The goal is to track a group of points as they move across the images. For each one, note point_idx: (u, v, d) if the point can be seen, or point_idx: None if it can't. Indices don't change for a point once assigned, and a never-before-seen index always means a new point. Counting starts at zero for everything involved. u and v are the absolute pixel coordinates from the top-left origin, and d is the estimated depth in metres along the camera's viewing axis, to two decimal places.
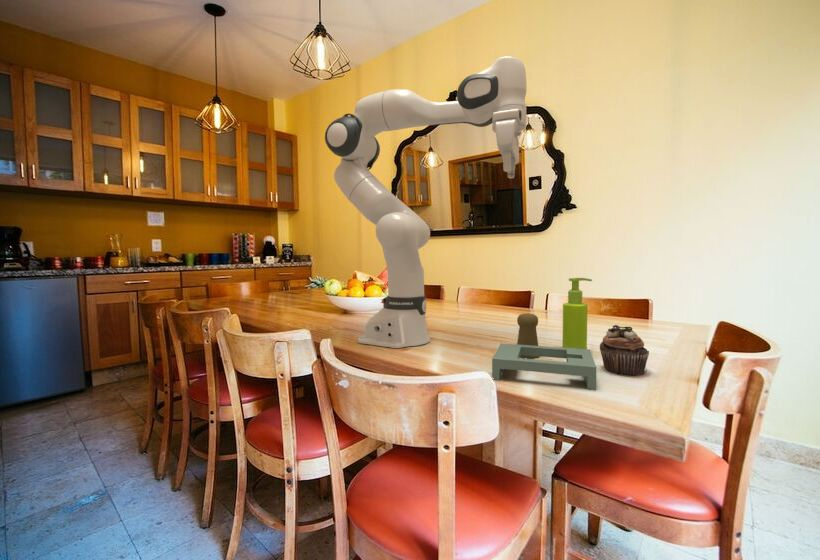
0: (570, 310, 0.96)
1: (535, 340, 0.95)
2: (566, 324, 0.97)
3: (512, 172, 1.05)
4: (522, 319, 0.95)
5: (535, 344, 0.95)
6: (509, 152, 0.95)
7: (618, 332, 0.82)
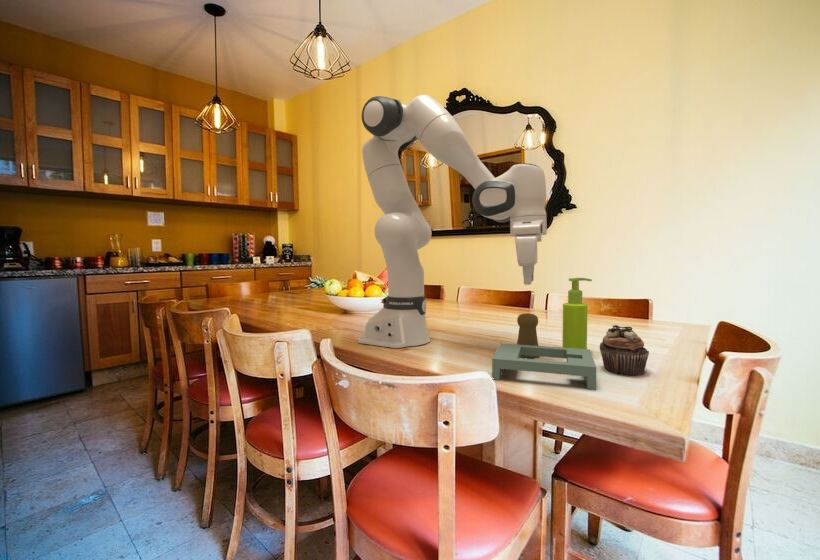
0: (570, 310, 0.96)
1: (535, 340, 0.95)
2: (566, 324, 0.97)
3: (531, 276, 0.99)
4: (522, 319, 0.95)
5: (535, 344, 0.95)
6: (530, 267, 0.89)
7: (618, 332, 0.82)
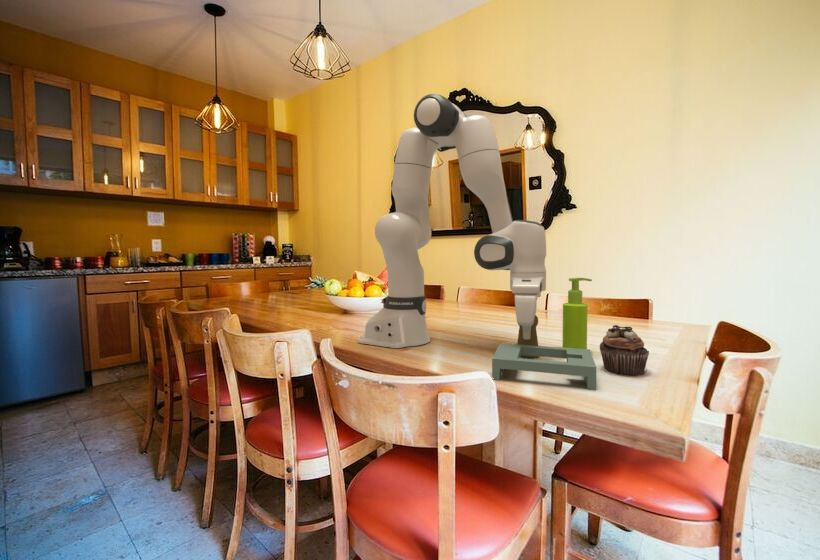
0: (570, 310, 0.96)
1: (535, 340, 0.95)
2: (566, 324, 0.97)
3: None
4: None
5: (535, 344, 0.95)
6: None
7: (618, 332, 0.82)
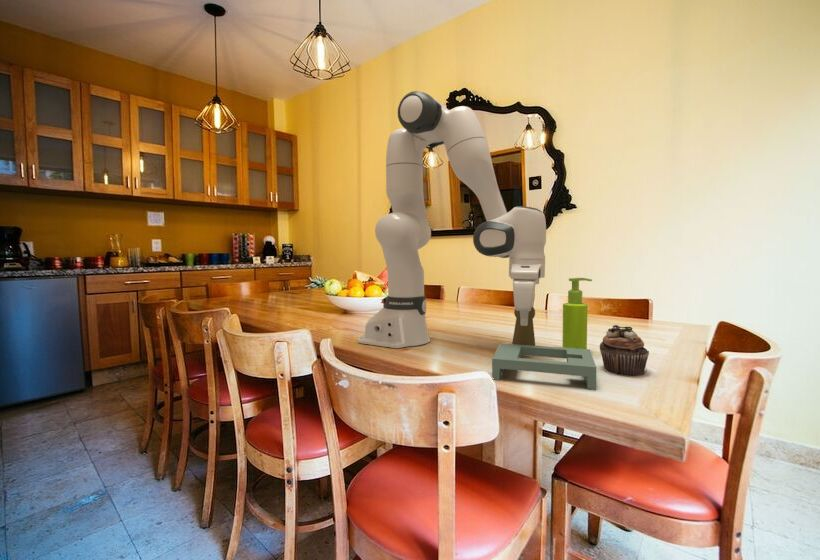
0: (570, 310, 0.96)
1: (531, 332, 0.95)
2: (566, 324, 0.97)
3: None
4: None
5: (531, 336, 0.95)
6: None
7: (618, 332, 0.82)
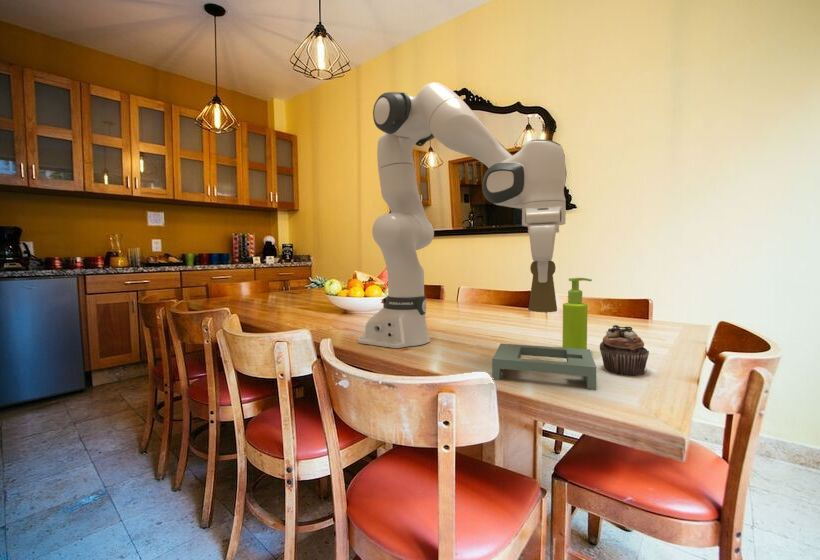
0: (570, 310, 0.96)
1: (552, 290, 0.80)
2: (566, 324, 0.97)
3: None
4: (536, 264, 0.80)
5: (552, 295, 0.80)
6: (546, 262, 0.77)
7: (618, 332, 0.82)
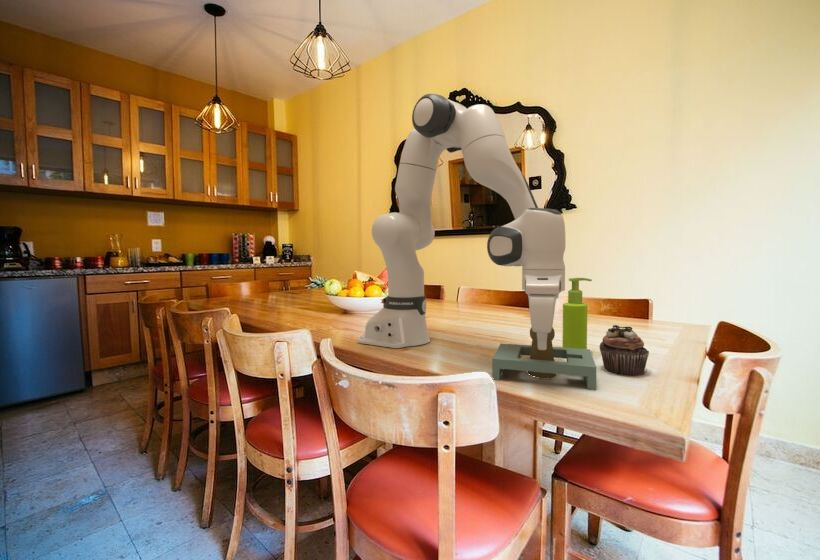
0: (570, 310, 0.96)
1: (551, 356, 0.81)
2: (566, 324, 0.97)
3: None
4: None
5: None
6: None
7: (618, 332, 0.82)
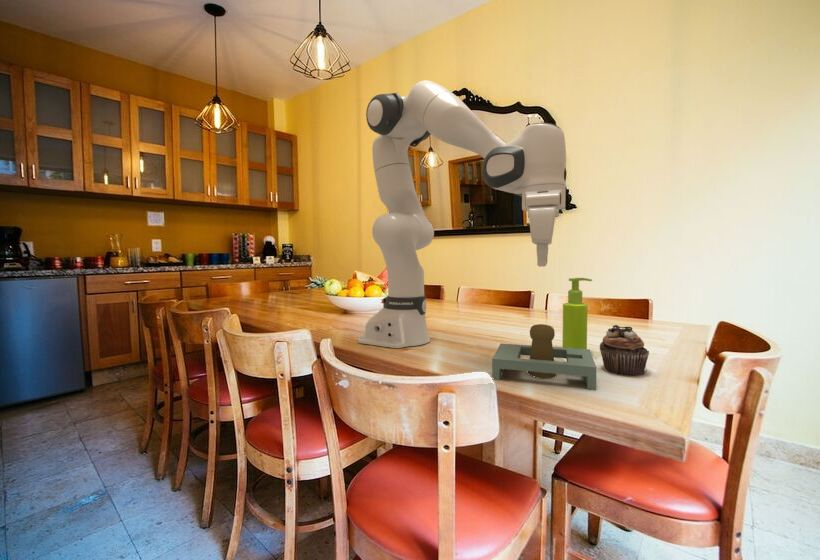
0: (570, 310, 0.96)
1: (551, 356, 0.81)
2: (566, 324, 0.97)
3: None
4: (535, 331, 0.81)
5: None
6: (546, 245, 0.75)
7: (618, 332, 0.82)
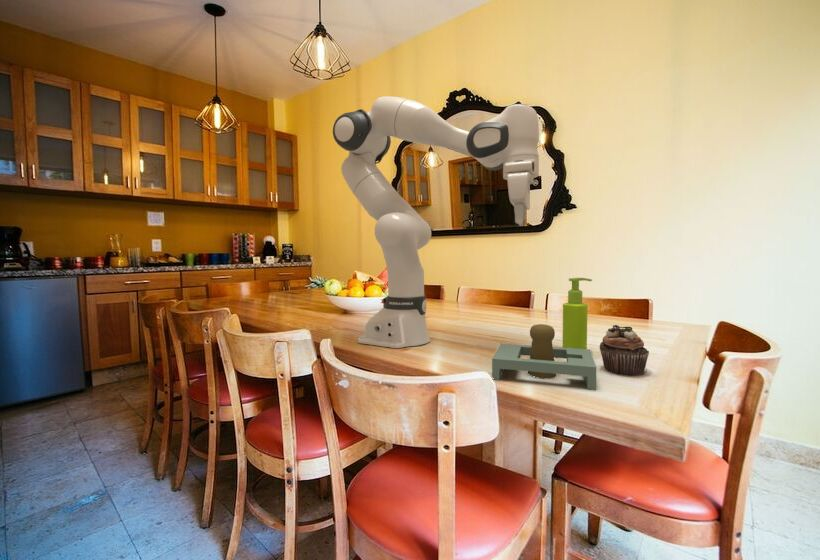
0: (570, 310, 0.96)
1: (551, 356, 0.81)
2: (566, 324, 0.97)
3: (523, 220, 1.01)
4: (535, 331, 0.81)
5: None
6: (521, 205, 0.91)
7: (618, 332, 0.82)
